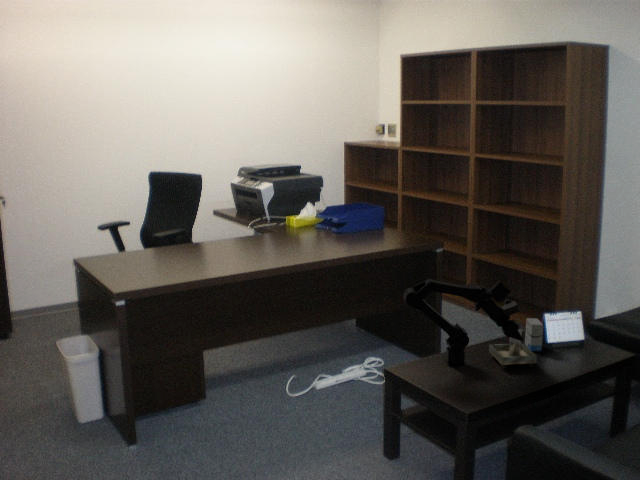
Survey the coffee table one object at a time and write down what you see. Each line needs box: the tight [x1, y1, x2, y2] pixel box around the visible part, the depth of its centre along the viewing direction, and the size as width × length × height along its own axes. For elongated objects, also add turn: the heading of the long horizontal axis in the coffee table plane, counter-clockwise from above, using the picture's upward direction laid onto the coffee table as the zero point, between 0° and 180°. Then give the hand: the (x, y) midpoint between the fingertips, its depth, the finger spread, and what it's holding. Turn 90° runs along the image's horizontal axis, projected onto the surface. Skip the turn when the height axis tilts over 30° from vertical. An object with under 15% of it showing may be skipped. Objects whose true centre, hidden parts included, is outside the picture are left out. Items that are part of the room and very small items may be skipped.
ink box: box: [524, 317, 544, 352], centre depth 277 cm, size 8×5×12 cm, turn 179°
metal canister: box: [508, 321, 523, 357], centre depth 261 cm, size 5×5×13 cm
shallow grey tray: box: [488, 342, 537, 369], centre depth 262 cm, size 14×14×5 cm
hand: (518, 336), depth 261 cm, fingers open, 9 cm apart
